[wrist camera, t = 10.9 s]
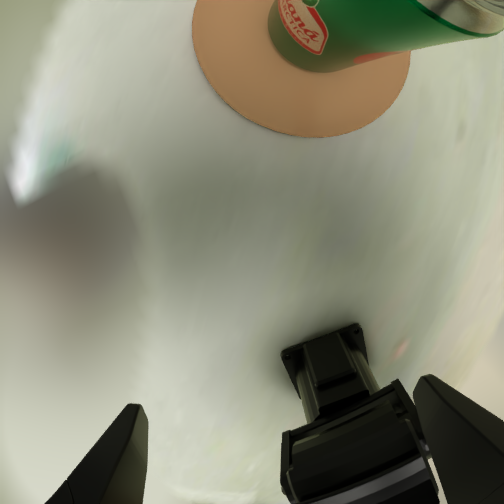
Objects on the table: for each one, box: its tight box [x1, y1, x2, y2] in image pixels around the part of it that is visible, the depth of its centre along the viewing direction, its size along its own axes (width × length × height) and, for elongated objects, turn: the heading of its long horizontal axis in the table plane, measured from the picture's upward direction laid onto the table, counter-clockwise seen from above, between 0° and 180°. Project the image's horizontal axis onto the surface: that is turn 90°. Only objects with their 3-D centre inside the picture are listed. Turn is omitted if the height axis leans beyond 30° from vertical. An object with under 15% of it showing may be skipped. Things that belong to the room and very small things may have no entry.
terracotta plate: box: [192, 0, 411, 137], centre depth 14 cm, size 12×12×2 cm
